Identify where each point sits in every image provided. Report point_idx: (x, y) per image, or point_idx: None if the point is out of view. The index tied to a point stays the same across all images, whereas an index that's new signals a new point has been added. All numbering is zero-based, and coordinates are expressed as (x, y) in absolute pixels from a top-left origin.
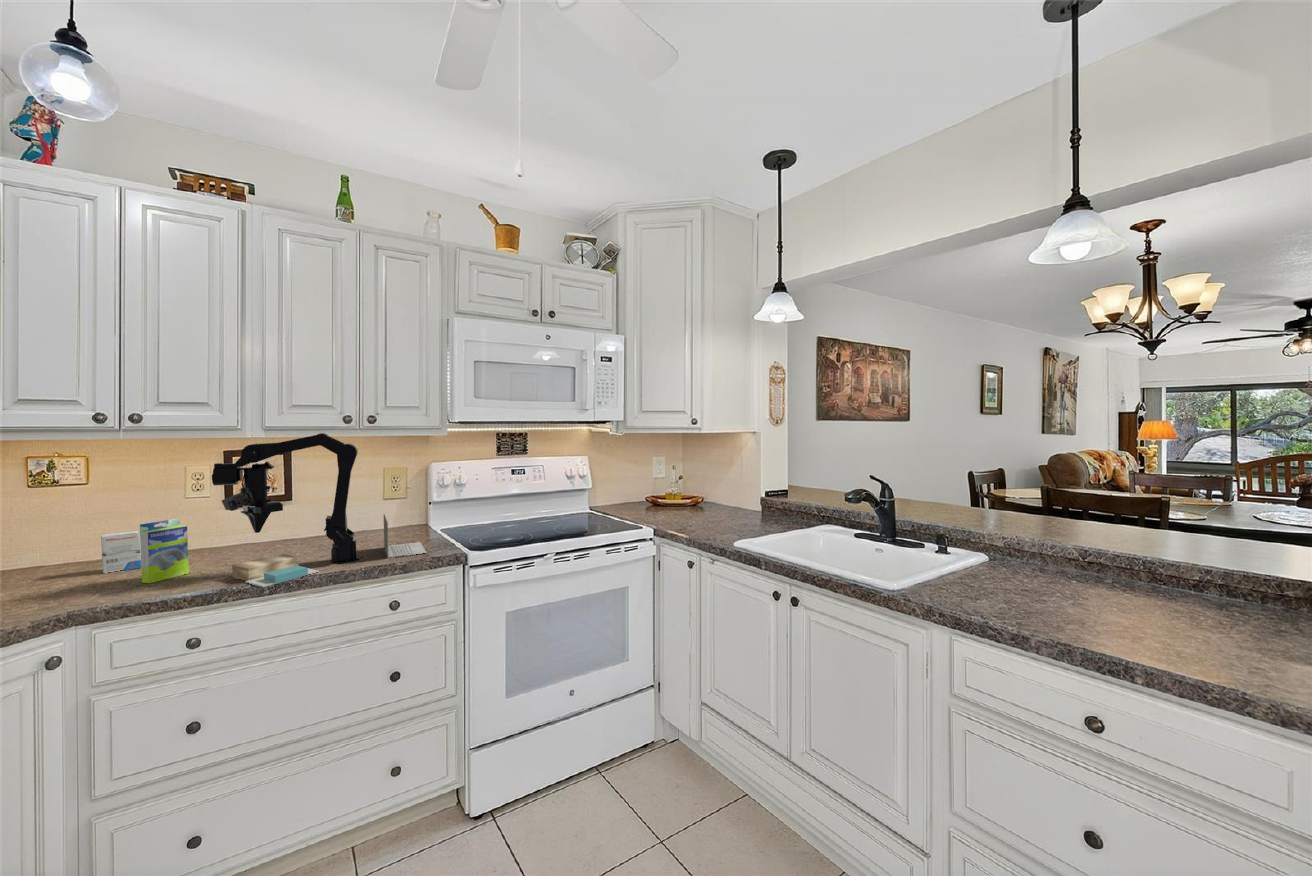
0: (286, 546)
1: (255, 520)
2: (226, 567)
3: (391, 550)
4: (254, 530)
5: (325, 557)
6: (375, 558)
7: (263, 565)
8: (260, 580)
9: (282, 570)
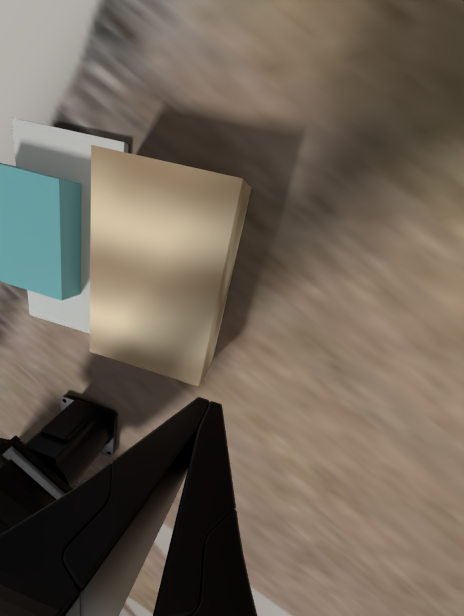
0: (438, 565)
1: (54, 504)
2: (439, 313)
3: None
4: (212, 415)
5: None
6: None
7: (92, 217)
8: (84, 171)
9: (36, 231)
